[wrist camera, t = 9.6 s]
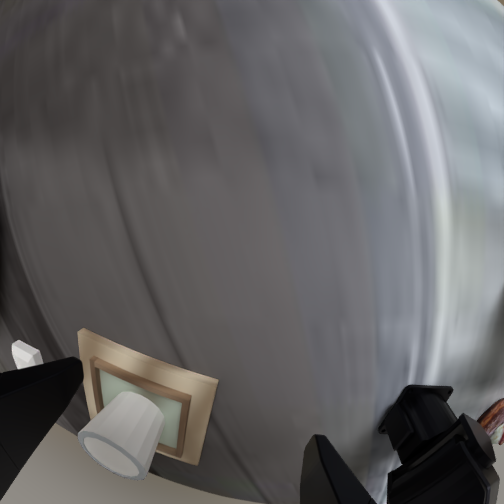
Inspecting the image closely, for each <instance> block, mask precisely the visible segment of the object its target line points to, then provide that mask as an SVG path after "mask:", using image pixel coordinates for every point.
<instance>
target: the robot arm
mask: <svg viewBox="0 0 504 504" xmlns="http://www.w3.org/2000/svg"><path fill="white" fill-rule="evenodd" d="M83 380H84V370H83V363H82V361H81V360H79V359H78V358H76V357H68V358H64V359H60V360H56V361H52V362H48V363H44V364H39V365H35V366H30V367H26V368H21V369H17V370H12V371H7V372H3V373H0V500H1V499H2V498H3V496H4V495H5V493H6V492H7V490H8V489H9V487H10V485H11V484H12V483H13V481H14V480H15V478H16V477H17V475H18V473H19V472H20V470H21V469H22V468H23V466H24V465H25V463H26V462H27V460H28V459H29V458H30V456H31V455H32V453H33V452H34V451H35V449H36V448H37V446H38V445H39V444H40V442H41V441H42V440H43V438H44V437H45V436H46V434H47V433H48V432H49V430H50V429H51V427H52V426H53V425H54V424H55V422H56V421H57V420H58V418H59V417H60V416H61V414H62V413H63V412H64V411H65V409H66V408H67V406H68V405H69V403H70V402H71V400H72V398H73V397H74V395H75V393H76V392H77V390H78V388H79V387H80V385H81V383H82V382H83ZM410 389H411V390H410ZM452 392H453V388H452V387H451V386H427V385H408V386H407V387H406V388H405V390H404V391H403V393H402V395H401V396H400V398H399V399H398V401H397V402H396V404H395V405H394V407H393V408H392V410H391V411H390V413H389V414H388V416H387V417H386V419H385V420H384V422H383V423H382V424H381V426H380V427H379V429H378V431H379V433H380V434H388V435H389V438H390V441H391V444H392V446H393V449H394V451H397V453H398V455H399V458H400V461H401V464H403V465H401V466H400V467H398V468H397V469H395V470H392V471H391V472H389V473H388V483H387V504H496V500H497V495H498V489H499V481H500V479H499V476H498V475H497V472H496V471H495V469H494V467H493V466H492V464H493V463H494V462H496V458H495V454H494V450H493V446H492V443H491V439H490V437H489V435H488V434H487V433H486V431H485V430H484V429H483V427H482V426H481V425H480V423H478V422H477V421H475V420H474V419H472V418H471V417H469V416H468V415H466V414H464V413H462V414H461V415H460V416H459V419H457V417H456V416H455V414H454V413H453V411H452V410H451V408H450V406H449V405H448V403H447V400H448V399H449V397H450V396H451V394H452ZM300 504H377V503H376V502H375V501H374V499H373V498H371V496H370V495H369V493H368V492H367V491H366V489H365V488H364V487H363V486H362V484H361V483H360V482H359V480H358V479H357V478H356V476H355V475H354V474H353V472H352V471H351V470H350V468H349V467H348V466H347V464H346V463H345V462H344V460H343V459H342V458H341V456H340V455H339V454H338V452H337V451H336V450H335V448H334V447H333V445H332V444H331V443H330V441H329V440H328V439H327V437H326V436H325V435H319V434H314V435H313V436H312V438H311V439H310V441H309V442H308V444H307V445H306V447H305V450H304V458H303V466H302V474H301V483H300Z"/></svg>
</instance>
